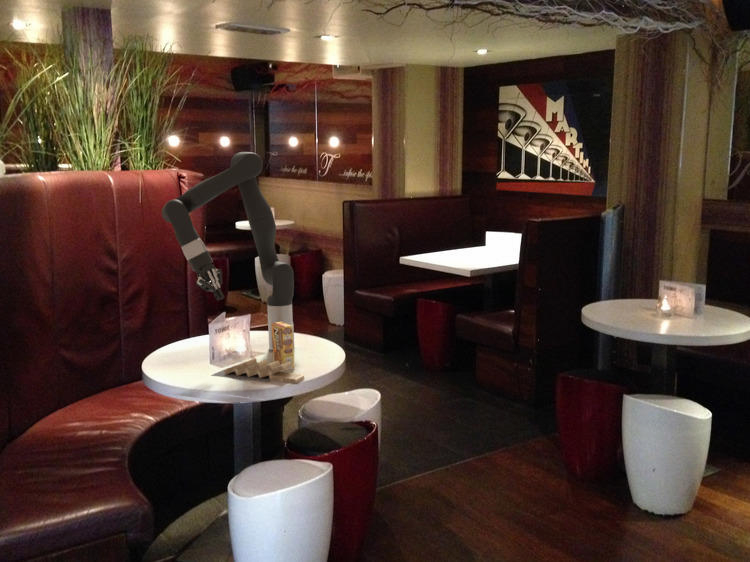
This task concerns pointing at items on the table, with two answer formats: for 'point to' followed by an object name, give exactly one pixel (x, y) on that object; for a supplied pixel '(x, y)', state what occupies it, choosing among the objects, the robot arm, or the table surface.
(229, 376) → the mat
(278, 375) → the domino
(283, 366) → the domino
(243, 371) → the domino
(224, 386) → the table surface
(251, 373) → the domino
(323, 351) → the table surface
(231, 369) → the domino
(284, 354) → the candy box
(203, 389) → the table surface
